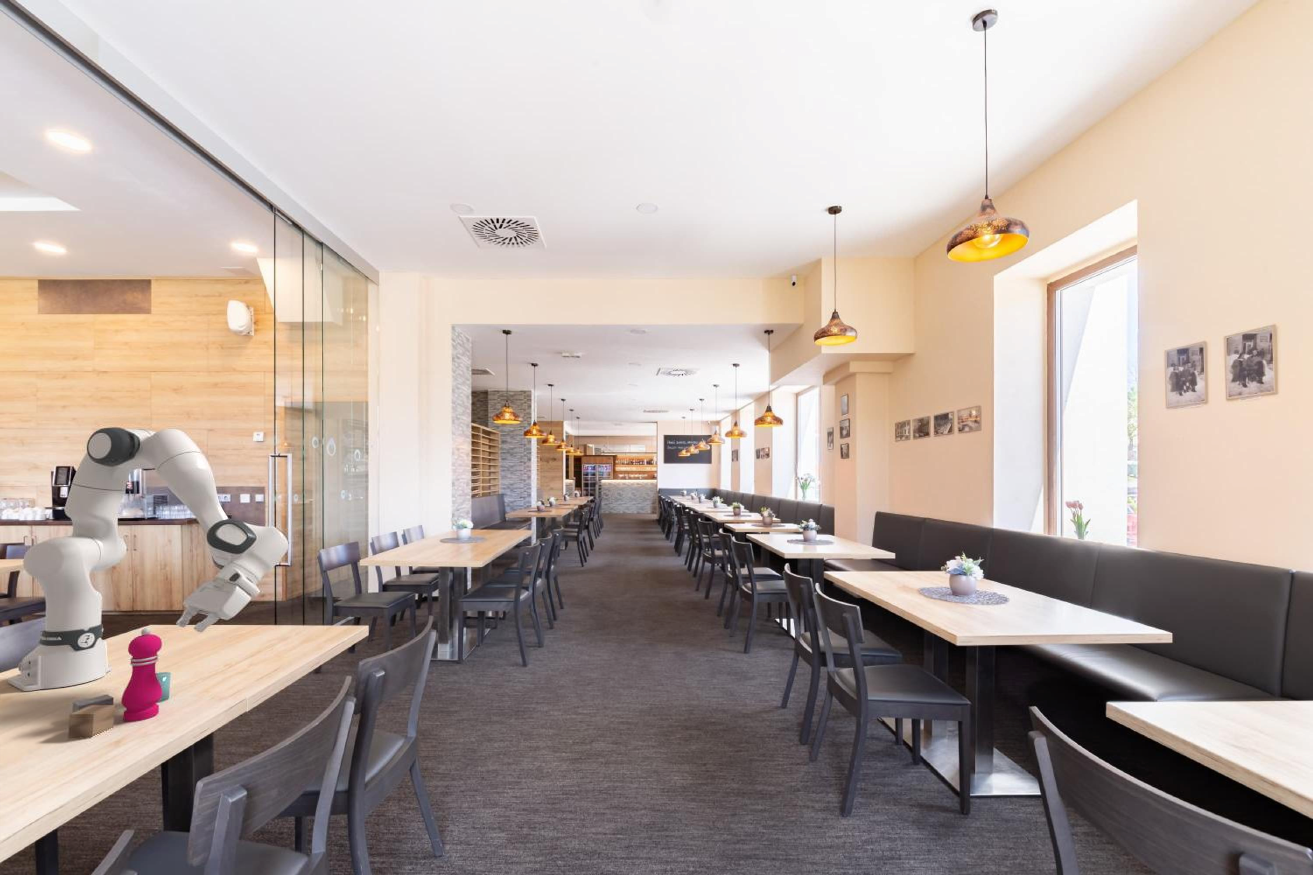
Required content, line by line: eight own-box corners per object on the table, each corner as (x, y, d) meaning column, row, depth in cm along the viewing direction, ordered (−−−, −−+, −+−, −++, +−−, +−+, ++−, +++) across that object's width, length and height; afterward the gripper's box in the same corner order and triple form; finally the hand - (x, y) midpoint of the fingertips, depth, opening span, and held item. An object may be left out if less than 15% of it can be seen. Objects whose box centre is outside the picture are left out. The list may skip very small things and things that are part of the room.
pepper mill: (168, 712, 141) (173, 625, 142) (133, 724, 134) (138, 632, 136) (148, 708, 144) (153, 623, 145) (112, 720, 137) (118, 630, 138)
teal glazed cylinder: (138, 702, 148) (139, 677, 148) (160, 695, 152) (161, 671, 153) (151, 704, 146) (153, 679, 146) (174, 697, 151) (175, 673, 151)
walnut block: (68, 738, 127) (69, 713, 128) (90, 728, 132) (91, 705, 133) (92, 738, 128) (93, 713, 128) (113, 728, 132) (114, 704, 133)
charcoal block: (71, 720, 137) (72, 702, 137) (106, 711, 142) (107, 694, 142) (77, 724, 135) (78, 705, 135) (112, 715, 140) (113, 697, 140)
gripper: (206, 570, 160) (158, 615, 151) (245, 577, 149) (197, 626, 140) (224, 585, 163) (179, 629, 154) (263, 593, 153) (217, 641, 144)
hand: (188, 628), depth 147 cm, fingers open, 8 cm apart
